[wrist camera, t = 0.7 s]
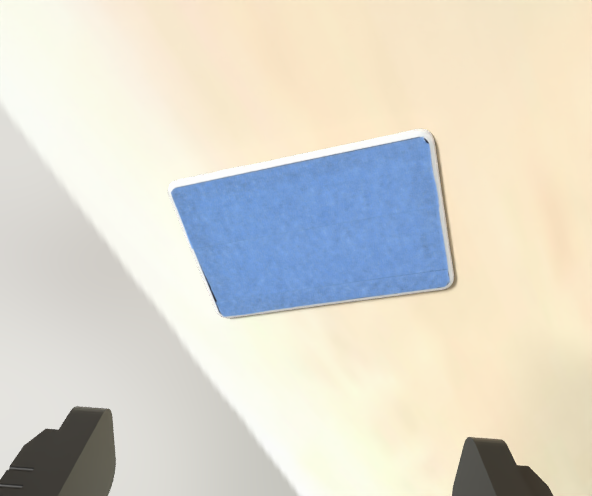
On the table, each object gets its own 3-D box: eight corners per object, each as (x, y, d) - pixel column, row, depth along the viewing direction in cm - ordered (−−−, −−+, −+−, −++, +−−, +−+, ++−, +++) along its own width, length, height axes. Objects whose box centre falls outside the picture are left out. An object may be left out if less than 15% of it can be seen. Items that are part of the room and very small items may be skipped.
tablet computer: (221, 313, 44) (217, 323, 43) (166, 178, 38) (160, 185, 37) (454, 280, 39) (456, 290, 38) (431, 121, 33) (433, 127, 32)
